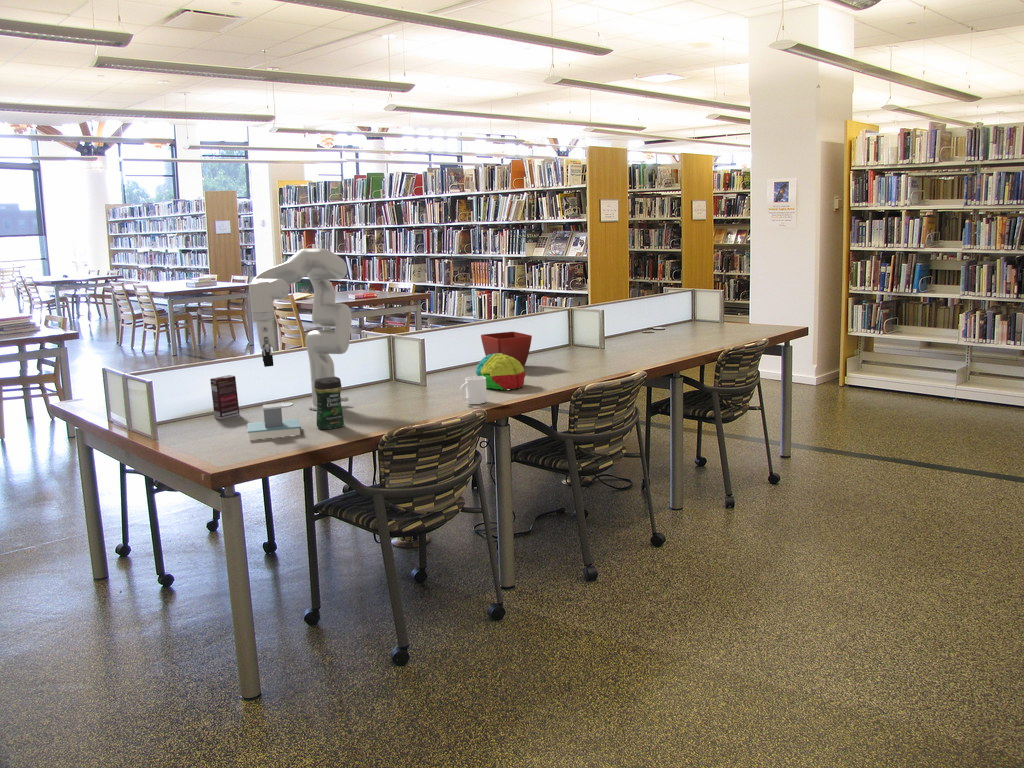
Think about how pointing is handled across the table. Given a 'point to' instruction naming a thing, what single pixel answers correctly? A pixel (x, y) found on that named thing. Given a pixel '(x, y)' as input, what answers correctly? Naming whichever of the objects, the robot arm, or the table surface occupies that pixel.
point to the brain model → (501, 371)
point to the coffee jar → (328, 402)
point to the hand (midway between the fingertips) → (268, 363)
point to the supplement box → (224, 397)
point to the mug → (474, 390)
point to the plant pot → (508, 345)
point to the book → (273, 429)
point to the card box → (272, 415)
